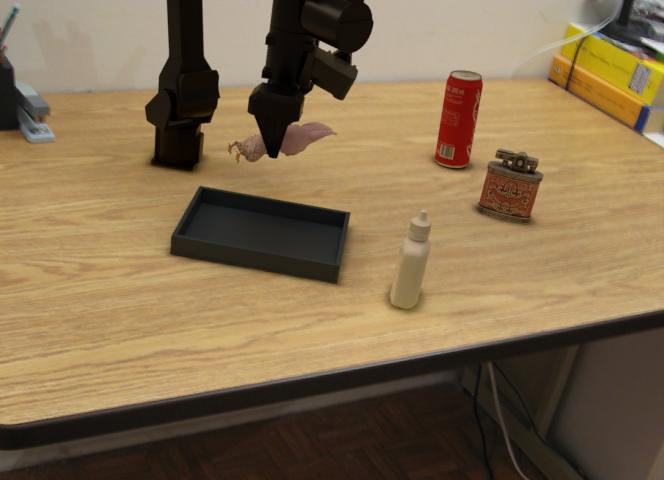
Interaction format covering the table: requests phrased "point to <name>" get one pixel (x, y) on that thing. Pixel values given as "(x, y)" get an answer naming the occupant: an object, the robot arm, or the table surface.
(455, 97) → the beverage can
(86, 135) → the table surface
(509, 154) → the lighter
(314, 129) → the rabbit figure
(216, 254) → the desk tray
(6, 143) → the table surface
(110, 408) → the table surface
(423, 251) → the eye dropper bottle
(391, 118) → the table surface
